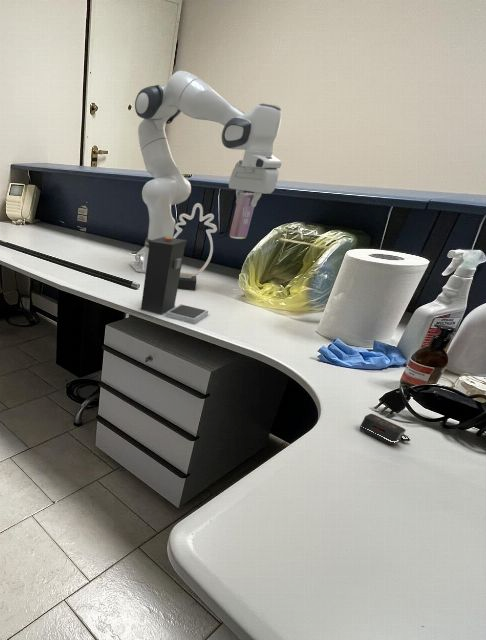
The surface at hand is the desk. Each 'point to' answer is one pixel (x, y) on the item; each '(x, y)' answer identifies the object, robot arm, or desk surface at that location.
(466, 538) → the desk surface
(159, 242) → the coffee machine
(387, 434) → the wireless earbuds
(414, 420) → the desk surface
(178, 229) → the lamp
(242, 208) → the beverage can
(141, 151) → the robot arm
